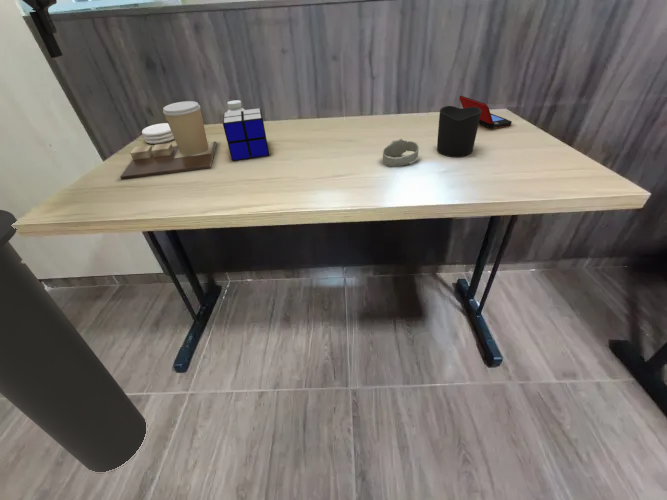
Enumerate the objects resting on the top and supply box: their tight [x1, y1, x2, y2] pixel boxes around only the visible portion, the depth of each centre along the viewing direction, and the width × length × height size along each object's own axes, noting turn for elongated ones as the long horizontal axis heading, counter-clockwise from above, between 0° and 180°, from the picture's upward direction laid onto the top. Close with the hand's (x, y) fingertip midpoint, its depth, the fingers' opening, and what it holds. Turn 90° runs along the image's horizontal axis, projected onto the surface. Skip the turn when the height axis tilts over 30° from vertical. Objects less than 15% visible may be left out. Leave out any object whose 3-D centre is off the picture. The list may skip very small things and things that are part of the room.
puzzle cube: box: [222, 107, 270, 162], centre depth 95 cm, size 10×10×10 cm
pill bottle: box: [226, 99, 245, 112], centre depth 107 cm, size 5×5×10 cm
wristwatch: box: [382, 138, 420, 167], centre depth 85 cm, size 9×6×5 cm
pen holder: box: [436, 105, 481, 158], centre depth 87 cm, size 9×9×10 cm
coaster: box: [141, 122, 175, 145], centre depth 110 cm, size 10×10×4 cm
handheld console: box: [458, 95, 513, 130], centre depth 103 cm, size 12×11×7 cm
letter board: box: [120, 141, 217, 180], centre depth 95 cm, size 22×18×3 cm
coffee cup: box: [162, 100, 208, 155], centre depth 95 cm, size 9×9×12 cm
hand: (15, 60), depth 60 cm, fingers open, 13 cm apart
